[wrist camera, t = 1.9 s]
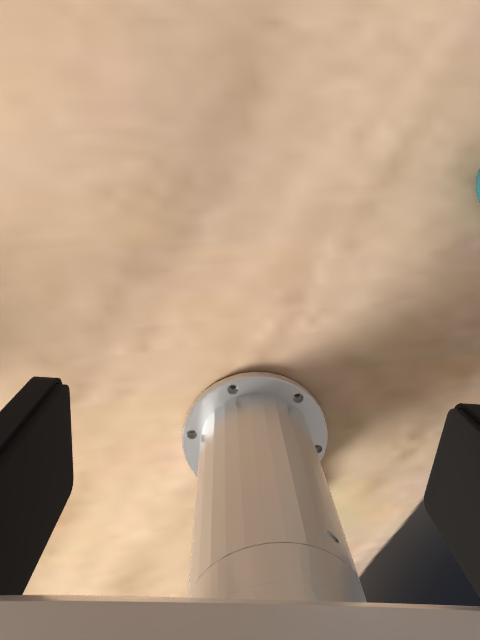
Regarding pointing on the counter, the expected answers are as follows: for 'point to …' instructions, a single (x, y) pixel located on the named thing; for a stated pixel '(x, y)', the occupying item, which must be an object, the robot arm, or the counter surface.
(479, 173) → the ball
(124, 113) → the counter surface
